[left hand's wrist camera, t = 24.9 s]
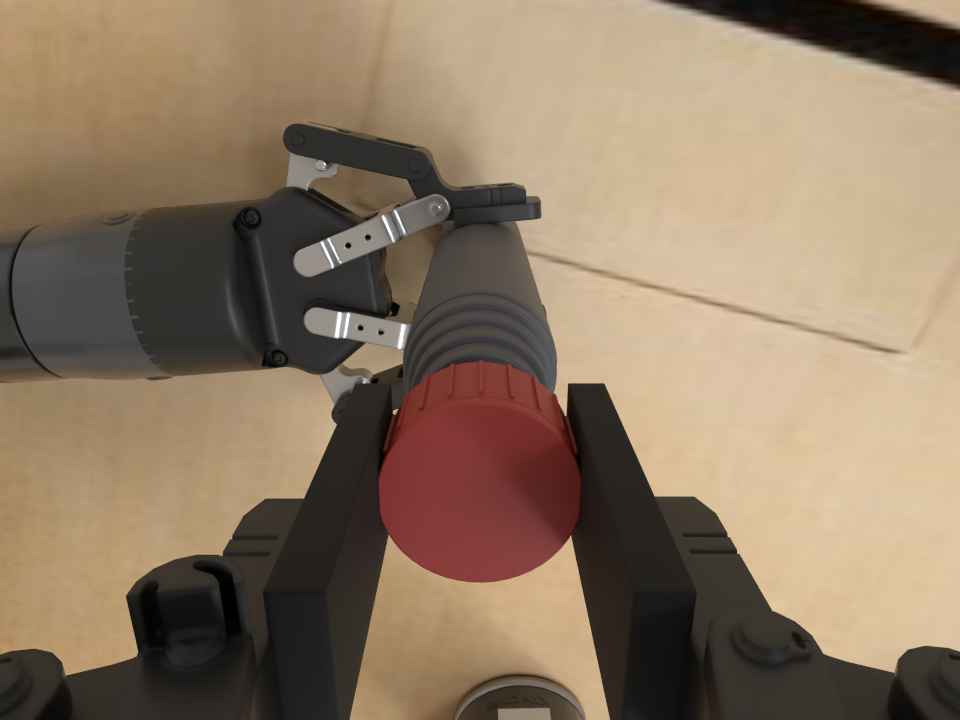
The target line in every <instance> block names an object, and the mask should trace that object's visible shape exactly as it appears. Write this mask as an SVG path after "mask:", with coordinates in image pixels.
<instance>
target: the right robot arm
mask: <svg viewBox="0 0 960 720" xmlns="http://www.w3.org/2000/svg"><path fill="white" fill-rule="evenodd" d="M283 141H284V144H285V146H286V148H287V149H288V150H289V151H290V158H289V166H288V175H287V184H286V187H285V188H282V189H279V190H278V191H276V192H275V193H274V194H272V195H271V196H269V197H268V198H265V199H260V200H250V201H238V202H226V203H214V204H202V205H189V206H177V207H165V208H153V209H142V210H130V211H117V212H105V213H97V214H91V215H86V216H81V217H77V218H73V219H68V220H64V221H60V222H52V223H43V224H31V225H18V226H6V227H0V383H18V382H31V381H44V380H57V379H69V378H92V379H105V380H129V379H144V378H145V379H149V380H162V379H168V378H172V377H173V376H184V375H197V374H211V373H224V372H237V371H251V370H264V369H273V368H280V367H292V368H297V369H300V370H303V371H305V372H307V373H310V374H315V375H320V377H321V379H322V381H323V383H324V385H325V387H326V389H327V391H328V393H329V394H330V396H331V398H332V400H333V402H334V408H333V410H332V419H333V420H334V422H335V423H336V424H338V421H339V419H340V417H341V415H342V412H343V410H344V408H345V406H346V403H347V401H348V399H349V397H350V394H351V392H352V390H353V388H354V385H355V384H389V383H391V388H392V409H393V410H395V409H398V408H399V407H400V405H401V404H402V402H403V399H404V396H405V394H406V390H405V386H404V380H403V364H401V365H398V366H396V367H393V368H390V369H388V370H385V371H382V372H379V373H377V374H374V375H373V374H372V373H371V372H370V371H369V370H367V369H365V368H358V369H350V368H347V367H345V366H344V365H343V364H342V363H343V362H344V361H345V360H346V359H348V358H349V357H350V356H351V355H352V354H353V353H355V352H356V351H357V350H358V349H359V348H360V347H362V346H363V345H364V344H365V343H371V344H376V345H381V346H386V347H391V348H396V349H404V348H405V344H406V341H407V337H408V334H409V331H410V328H411V324H412V321H413V318H414V315H415V312H416V308H417V305H416V304H414V303H411V302H407V301H403V300H398V299H393V298H392V292H391V287H390V284H389V282H388V279H387V277H386V275H385V272H384V269H385V262H386V255H387V254H386V246H388V245H390V244H393V243H395V242H397V241H399V240H401V239H402V238H404V237H406V236H409V235H411V234H414V233H416V232H419V231H421V230H424V229H426V228H429V227H431V226H434V225H436V224H439V223H441V222H443V221H450V220H454V226H460V225H471V224H485V223H497V222H509V221H521V220H533V219H539V218H541V201H540V199H539V197H536V196H528V197H526V190H525V188H524V186H521V185H518V184H515V183H501V184H490V185H477V186H465V187H453V186H450V185H448V184H447V183H446V182H445V181H444V180H443V179H442V177H441V175H440V173H439V171H438V169H437V167H436V165H435V163H434V159H433V156H432V154H431V152H430V151H429V150H428V149H426V148H424V147H420V146H415V145H411V144H406V143H402V142H397V141H393V140H389V139H384V138H380V137H375V136H371V135H366V134H362V133H357V132H353V131H349V130H344V129H340V128H335V127H331V126H326V125H322V124H318V123H313V122H309V123H299V124H293V125H290V126H289V127H288V128H287V129H286V130H285V132H284V135H283ZM343 165H344V166H349V167H353V168H358V169H362V170H367V171H372V172H376V173H381V174H385V175H390V176H394V177H399V178H403V179H407V180H408V182H409V184H410V186H411V188H412V190H413V192H414V195H415V196H414V197H412V198H409V199H407V200H404V201H402V202H399V203H395V204H392V205H390V206H387V207H385V208H382V209H380V210H377V211H375V212H373V213H370V214H368V215H365V216H363V217H360V216H358V215H356V214H355V213H353V212H351V211H350V210H348V209H346V208H345V207H343V206H341V205H340V204H338V203H336V202H334V201H333V200H331V199H329V198H328V197H326V196H324V195H323V194H321V193H319V192H318V191H316V190H314V189H313V185H314V183H315V181H316V180H317V179H320V178H322V179H328V178H331V177H333V176H335V175H337V174H338V173H339V172H340V171H341V170H342V167H343ZM542 306H543V309H544V312H545V315H546V311H545V307H544V305H542ZM390 311H391V312H392V313H390ZM546 319H547V317H546ZM380 330H383V331H380ZM453 720H586V718H585V713H584V711H583V708H582V707H581V705H580V703H579V702H578V700H577V699H576V698H575V697H574V696H573V695H572V694H571V693H570V692H569V691H568V690H566V689H565V688H563V687H562V686H560V685H558V684H556V683H554V682H551V681H549V680H545V679H542V678H537V677H531V676H511V677H504V678H500V679H496V680H493V681H490V682H488V683H485V684H483V685H481V686H479V687H478V688H476V689H475V690H473V691H472V692H471V693H469V694H468V695H467V696H466V697H465V698H464V699H463V701H462V702H461V703H460V705H459V706H458V708H457V710H456V712H455V715H454V719H453Z"/></svg>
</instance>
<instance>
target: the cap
mask: <svg viewBox="0 0 960 720" xmlns="http://www.w3.org/2000/svg"><path fill="white" fill-rule="evenodd" d="M382 453H383V454H384V458H383V461H382V465H381V469H380V472H379V495H380V512H381V519H382V522H383V524H384V526H385V528H386V530H387V532H388V534H389V535H390V537H391V538H392V540H393V541H394V543H395V544H396V545H397V546H398V547H399V549H400V550H401V551H402V552H403V553H404V554H405V555H407V556H408V557H409V558H410V559H411V560H412V561H414V562H415V563H417V564H418V565H420V566H421V567H423V568H425V569H427V570H429V571H431V572H433V573H435V574H438V575H441V576H443V577H446V578H450V579H454V580H459V581H466V582H495V581H501V580H506V579H510V578H513V577H517V576H520V575H522V574H525V573H527V572H529V571H532V570H533V569H535V568H537V567H539V566H540V565H542V564H543V563H545V562H546V561H547V560H549V559H550V558H551V557H553V556H554V555H555V554H556V553H557V552H558V551H559V550H560V549H561V548H562V546H563V545H564V544H565V543H566V541H567V540H568V539H569V537H570V536H571V534H572V532H573V531H574V529H575V527H576V524H577V522H578V519H579V505H580V488H581V471H580V468H579V464H578V460H577V457H576V456H577V455H579V453H578V450H577V446H576V443H575V439H574V435H573V432H572V428H571V425H570V421H569V418H568V416H565V415H564V413H563V411H562V409H561V407H560V405H559V403H558V400H557V396H556V395H555V394H551V393H550V391H549V390H548V389H547V388H546V387H545V386H544V385H542V384H541V383H540V382H539V381H537V377H535V376H533V377H531V376H530V375H528V374H526V373H525V372H522V371H520V370H518V369H515V368H513V367H512V366H511V365H509V364H508V365H507V366H506V365H503V364H497V363H491V362H483V360H479V362H471V363H463V364H458V365H455V364H451V365H450V367H448V368H445V369H442V370H440V371H438V372H436V373H434V374H432V375H430V376H429V375H426V376H425V378H424V380H423V381H421V382H420V383H419V384H418V385H417V386H416V387H414V388H413V389H412V390H411V392H410V393H408V392H407V393H406V394H405V396H404V399H403V402H402V404H401V405H400V407H399V409H398V411H397V413H396V415H394V414H393V415H392V418H391V422H390V425H389V429H388V432H387V436H386V439H385V443H384V447H383V450H382Z"/></svg>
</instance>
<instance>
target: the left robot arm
mask: <svg viewBox="0 0 960 720" xmlns="http://www.w3.org/2000/svg"><path fill="white" fill-rule="evenodd" d="M392 415H393V409H392V388H391V383H389V384H355V385H354V388H353V390H352V392H351V394H350V397H349V399H348V401H347V403H346V406H345V408H344V410H343V412H342V415H341V417H340V419H339V421H338V424H337V426H336V428H335V430H334V433H333V435H332V437H331V439H330V442H329V444H328V446H327V448H326V451H325V453H324V455H323V457H322V460H321V462H320V464H319V466H318V469H317V471H316V473H315V475H314V478H313V480H312V482H311V484H310V487H309V489H308V491H307V493H306V495H305V498H304V499H265V500H263V501H262V502H261V503H260V504H258V505H257V506H256V507H254V508H253V509H252V510H251V511H249V512H248V513H247V514H245V515H244V516H243V518H242V520H241V522H240V523H239V525H238V527H237V529H236V530H235V532H234V534H233V535H232V540H230V541H229V542H228V544H227V546H226V548H225V549H224V551H223V556H219V555H194V556H189V557H185V558H180V559H175V560H173V561H171V562H168V563H166V564H164V565H161V566H159V567H157V568H155V569H153V570H152V571H150V572H149V573H147V574H146V575H145V576H143V577H142V578H141V579H139V580H138V581H137V582H136V583H135V584H134V586H133V587H132V588H131V590H130V591H129V592H128V594H127V595H126V599H127V603H128V607H129V612H130V616H131V621H132V625H133V630H134V634H135V639H136V643H137V648H138V654H137V657H134V658H132V659H129V660H126V661H123V662H120V663H117V664H113V665H109V666H105V667H101V668H96V669H92V670H88V671H84V672H80V673H75V674H71V675H67V676H66V675H65V671H64V668H63V664H62V662H61V661H60V660H59V659H58V658H57V657H56V656H55V655H54V654H53V653H51V652H47V651H42V650H38V649H28V650H18V651H11V652H7V653H4V654H1V655H0V720H349V719H350V714H351V710H352V705H353V700H354V695H355V691H356V686H357V681H358V676H359V672H360V667H361V662H362V658H363V653H364V648H365V643H366V639H367V634H368V629H369V624H370V620H371V615H372V610H373V606H374V601H375V596H376V591H377V587H378V582H379V577H380V572H381V568H382V563H383V558H384V554H385V549H386V544H387V539H388V535H389V534H388V532H387V530H386V528H385V526H384V524H383V522H382V519H381V512H380V495H379V472H380V469H381V465H382V461H383V458H384V454H383V453H382V450H383V447H384V443H385V439H386V436H387V432H388V429H389V425H390V422H391V418H392ZM567 416H568V418H569V421H570V425H571V428H572V432H573V435H574V439H575V443H576V446H577V450H578V453H579V455H577V456H576V457H577V460H578V464H579V468H580V471H581V488H580V505H579V519H578V522H577V524H576V527H575V529H574V531H573V532H572V534H571V537H572V541H573V546H574V551H575V556H576V560H577V565H578V570H579V575H580V579H581V584H582V589H583V593H584V598H585V603H586V608H587V612H588V617H589V622H590V627H591V631H592V636H593V641H594V645H595V650H596V655H597V660H598V664H599V669H600V674H601V679H602V683H603V688H604V693H605V697H606V702H607V707H608V712H609V716H610V720H960V652H959V651H956V650H953V649H950V648H942V647H932V646H923V647H918V648H914V649H909V650H907V651H906V652H905V653H904V654H903V655H902V656H901V657H900V658H899V659H898V662H897V666H896V669H895V673H892V672H888V671H884V670H880V669H875V668H871V667H867V666H863V665H858V664H854V663H850V662H846V661H843V660H839V659H836V658H833V657H830V656H827V655H825V654H823V653H822V651H821V649H820V648H819V646H818V644H817V643H816V641H815V640H814V638H813V637H812V635H811V634H809V633H808V632H807V631H806V630H805V629H803V628H802V627H801V626H800V625H799V624H797V623H796V622H795V621H793V620H791V619H789V618H787V617H785V616H783V615H780V614H778V613H776V612H774V611H772V610H771V608H770V606H769V605H768V603H767V601H766V599H765V598H764V596H763V594H762V592H761V591H760V589H759V587H758V585H757V584H756V582H755V580H754V579H753V577H752V575H751V573H750V572H749V570H748V568H747V566H746V565H745V563H744V561H743V559H742V558H741V556H740V554H737V549H736V547H735V546H734V544H733V542H732V540H731V539H730V537H728V536H727V532H726V530H725V528H724V527H723V525H722V523H721V521H720V520H719V518H718V516H717V514H716V513H715V512H713V511H712V510H711V509H709V508H708V507H707V506H706V505H704V504H703V503H702V502H700V501H699V500H698V499H697V498H695V497H654V494H653V492H652V490H651V488H650V485H649V483H648V481H647V479H646V476H645V474H644V472H643V470H642V467H641V465H640V463H639V461H638V458H637V456H636V454H635V452H634V449H633V447H632V445H631V443H630V440H629V438H628V436H627V434H626V431H625V429H624V427H623V425H622V422H621V420H620V418H619V416H618V413H617V411H616V409H615V407H614V404H613V402H612V400H611V398H610V395H609V393H608V391H607V389H606V387H605V384H568V399H567Z"/></svg>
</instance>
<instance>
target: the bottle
mask: <svg viewBox="0 0 960 720" xmlns="http://www.w3.org/2000/svg"><path fill="white" fill-rule="evenodd" d="M479 360H483V362H491V363H497V364H503V365H506V366H507V365H508V364H509V365H511V366H512V367H513V368H515V369H518V370H520V371H522V372H525V373H526V374H528V375H530V376H531V377H533V376H535V377H537V381H539V382H540V383H541V384H542V385H544V386H545V387H546V388H547V389H548V390H549V391H550V393H551V394H553V393H554V390H555V385H556V377H557V368H556V367H557V357H556V349H555V345H554V341H553V338H552V335H551V331H550V328H549V325H548V322H547V319H546V315H545V312H544V309H543V306H542V303H541V299H540V296H539V293H538V290H537V287H536V283H535V280H534V277H533V274H532V271H531V267H530V264H529V261H528V258H527V255H526V251H525V248H524V245H523V242H522V239H521V235H520V232H519V229H518V226H517V224H516V222H515V221H509V222H497V223H485V224H471V225H460V226H454V220H450V221H445V222H444V223H443V226H442V228H441V231H440V235H439V238H438V241H437V244H436V247H435V251H434V254H433V257H432V260H431V263H430V267H429V270H428V273H427V276H426V280H425V283H424V286H423V289H422V292H421V296H420V299H419V302H418V305H417V308H416V312H415V315H414V318H413V321H412V324H411V328H410V331H409V334H408V337H407V341H406V344H405V348H404V355H403V380H404V386H405V390H406V393H407V392H408V393H410V392H411V390H412V389H413V388H414V387H416V386H417V385H418V384H419V383H420V382H421V381H423V380H424V378H425V376H426V375H429V376H430V375H432V374H434V373H436V372H438V371H440V370H442V369H445V368H448V367H450V365H451V364H455V365H458V364H463V363H471V362H479Z"/></svg>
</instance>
